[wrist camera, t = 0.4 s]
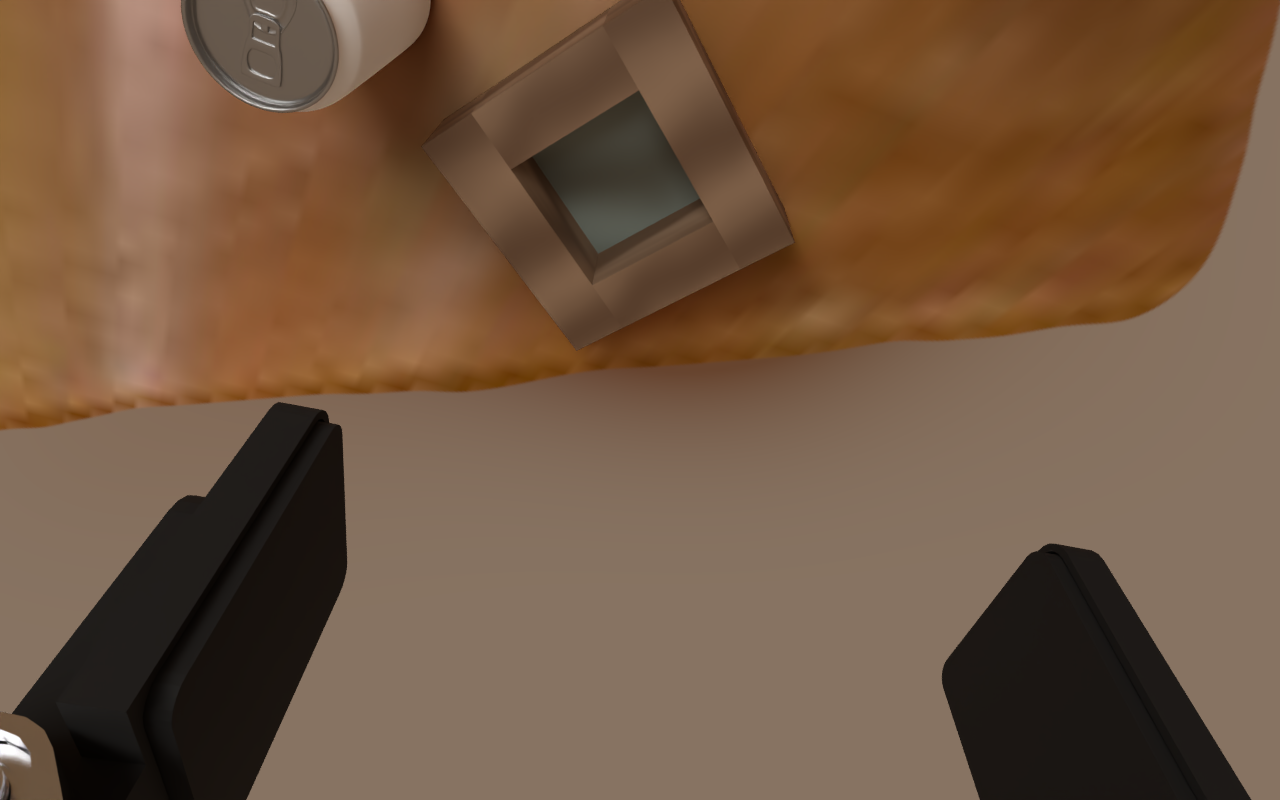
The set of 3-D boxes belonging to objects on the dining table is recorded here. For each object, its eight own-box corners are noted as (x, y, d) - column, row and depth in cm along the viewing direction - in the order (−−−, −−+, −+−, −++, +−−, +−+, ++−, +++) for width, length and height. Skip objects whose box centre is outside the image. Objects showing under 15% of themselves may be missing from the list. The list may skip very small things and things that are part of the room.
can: (446, -58, 35) (362, -21, 26) (419, 74, 39) (337, 149, 30) (309, -120, 34) (168, -104, 25) (295, 23, 38) (167, 85, 28)
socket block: (443, 119, 41) (421, 146, 37) (665, -30, 36) (664, -15, 32) (584, 312, 48) (576, 350, 44) (784, 208, 43) (794, 242, 39)
